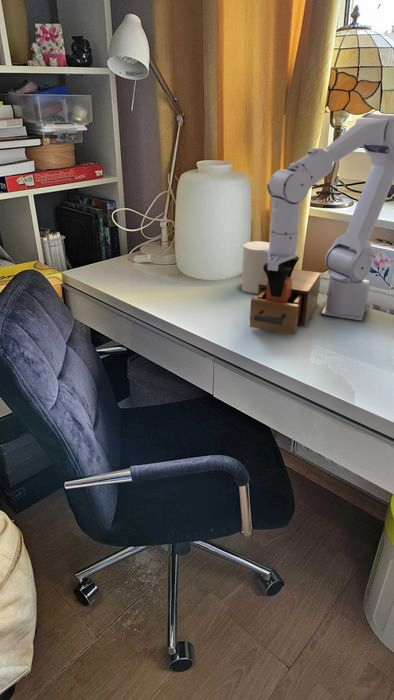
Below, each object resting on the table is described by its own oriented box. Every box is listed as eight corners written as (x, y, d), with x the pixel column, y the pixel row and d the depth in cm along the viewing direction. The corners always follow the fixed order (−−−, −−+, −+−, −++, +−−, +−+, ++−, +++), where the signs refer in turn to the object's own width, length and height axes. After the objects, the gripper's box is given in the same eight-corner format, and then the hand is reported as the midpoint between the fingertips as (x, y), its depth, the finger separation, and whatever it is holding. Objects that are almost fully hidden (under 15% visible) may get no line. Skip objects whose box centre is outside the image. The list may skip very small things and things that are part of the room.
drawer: (289, 343, 101) (292, 314, 98) (243, 334, 105) (244, 306, 102) (307, 313, 115) (310, 287, 111) (265, 306, 118) (267, 280, 115)
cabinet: (304, 326, 111) (308, 291, 107) (256, 317, 115) (258, 284, 111) (316, 304, 122) (320, 272, 117) (272, 298, 126) (275, 266, 122)
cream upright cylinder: (270, 283, 135) (273, 241, 130) (271, 294, 128) (274, 250, 123) (242, 282, 136) (243, 241, 130) (241, 293, 129) (243, 249, 123)
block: (290, 296, 108) (292, 277, 106) (285, 303, 104) (287, 283, 102) (271, 293, 109) (273, 274, 107) (265, 300, 106) (267, 280, 104)
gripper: (275, 221, 107) (271, 279, 113) (254, 237, 95) (251, 300, 102) (306, 224, 104) (300, 283, 111) (289, 241, 93) (283, 306, 99)
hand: (279, 292), depth 106 cm, fingers closed on block, 4 cm apart
